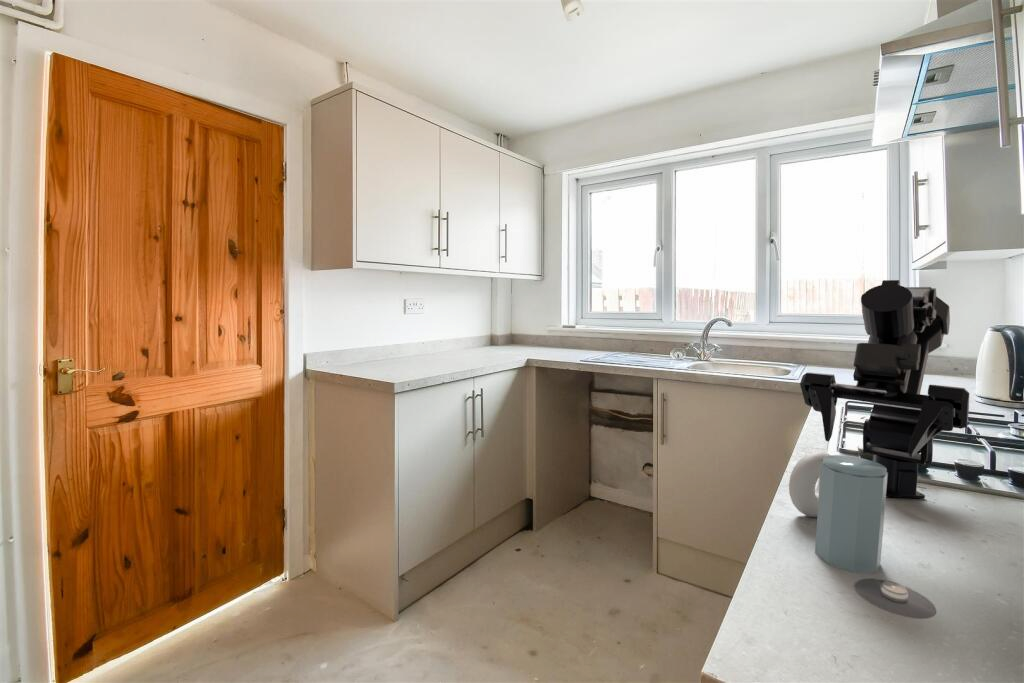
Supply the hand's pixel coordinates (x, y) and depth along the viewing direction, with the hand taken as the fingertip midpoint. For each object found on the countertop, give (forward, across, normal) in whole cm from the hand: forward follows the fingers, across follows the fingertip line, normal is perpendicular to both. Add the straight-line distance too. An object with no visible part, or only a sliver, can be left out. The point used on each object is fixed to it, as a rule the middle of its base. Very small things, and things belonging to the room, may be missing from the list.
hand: (866, 447), depth 65 cm
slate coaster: (+19, +6, 0) cm, 19 cm away
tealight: (+18, +6, 0) cm, 19 cm away
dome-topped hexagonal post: (+15, 0, +4) cm, 15 cm away
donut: (+6, -6, +12) cm, 15 cm away
